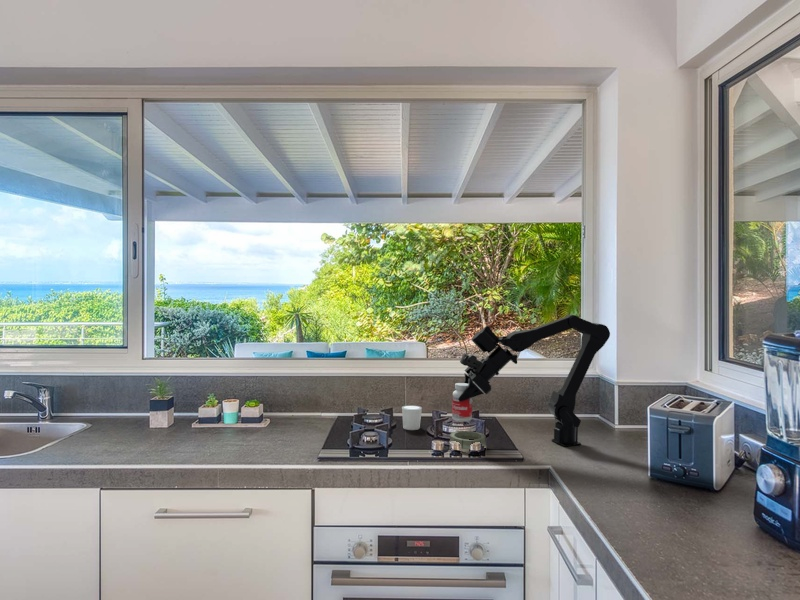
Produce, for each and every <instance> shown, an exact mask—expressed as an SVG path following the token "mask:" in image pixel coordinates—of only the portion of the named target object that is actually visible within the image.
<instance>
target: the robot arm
mask: <svg viewBox="0 0 800 600" xmlns="http://www.w3.org/2000/svg"><path fill="white" fill-rule="evenodd" d="M571 329H572V330H574V331H576V332H578V333H581V334H582V336H581V343H580V346H581V347H580V348H579V351H578V353H577V355H576V358H575V360H574V362H573V364H572V366H571V368H570V370H569V373H568V374H567V377H566V379H565V381H564V384H563V385H562V387H561V389H559V390H558V391H556V390H553V391H552V393H551V397H550V398H549V400H548V401H547V402H548V407H547V408H548V411H549V413H550V414H551V415H552V416H553V417H554V419H555V421H557V422H555V424H554V425H555V426H554V429H553V433H554V434H553V438H552V439H551V442H554V443H555V444H558V445H559V446H560V445H561V446H563V447H571V446H573V447H575V446H580V445H582V443H581V442H580V441H578V438H579V436H578V435H579V427H580V424H581V422H582V421H581V419H580V418H579V417H578V415H576V414H575V413H574V412H575V407H576V403H577V402H576V399H577V394H578V391H579V389H580V387H581V385H582V383H583V382H584V379H585V377H586V375H587V372H588V370H589V368H590V366H591V365H592V364H591V363H592V362H593V360H594V358H595V355H596V354H597V353H598V352H599V351H600V350H601V349H602V348H603V347H604V346H605V344H606V343H607V341H608V340H609V338H610V336H611V332H610V329H609V328H608V326H606V325H605V324H602V323H598V322H591V321H589V320H586V319H583V318H582V317H579V316H578V315H577V314H576V315H575V314H568V315H565V316H564V317H561V318H559V319H555V320H553V321H551V322H547V323H545V324H541V325H539V326H536V327H533V328H530V329H523V330H517V331H512V332H509V333H507V335H505V336H503V335H502V336H498V335H496V333H494V331H493V330H492V329H491V327H490V326H488V325H485V326H484V327H483V328H481V329H480V330H479V331H477V332H475V334H474V335H473V336H472V337H471V338H470V341H472V343H473V344H474V345H475V346H476V347H477V348H478V349H479V350H480V351H481V352H482V353H486V352H487V354H488V355H487V356H486V357H485V358H484V357H483V358H481V359H480V360H479V359H478V357H477V356H476V355H474V354H471V355H469V354H467V353H463V355H462V357H461V359H460V360H459V363H460V364H462V365H463V366H465V367H466V366H467V367H466V368H465V370H463V371H465V373H464V380H463V382H462V383H467V384H468V386H467V388H466V389H465V390H464V392H463V393H462V394H461V396H460V397H459V398H458V400H459V401H460V402H461V401H464V400H467V399H469V398H472V399H473V398H475V397H477V396H480V395H484V393H485V395H488V394H489V393H490V392H491V390H492V385H491V384H490V381H491V380H492V379H493V378H494V377H495V376H498V375H499V374H500V372H501V370H502V369H503V368H504V367H505V366H506V365H507V364H508V363H509V362H512V363H513V364H515V365H517V364H518V355H517V354H513V353H512V352H511V351H513V352H516V353H521V352H523V351H525V350H526V349H528V348H530V347H532V346H533V345H534V344H536V343H537V342H539V341H541V340H543V339H546V338H549V337H552V336H555V335H558V334H560V333H564V332H565V331H569V330H571ZM501 345H502V346H504V347H507V348H503V347H502V346H501ZM510 350H511V351H510Z"/></svg>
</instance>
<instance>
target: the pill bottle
mask: <svg viewBox="0 0 800 600" xmlns="http://www.w3.org/2000/svg"><path fill="white" fill-rule="evenodd" d="M467 386H468V384H467V383H463V382H457V383H455V384H454V389H455V390H454V391H453V392H452V399H451V400H452V403H451V404H452V406H451V410H452V411H451V418H452V420H454V421H457V422H470V421H472V419H473V397H472V398H469V399H467V400H464V401H461V402H460V401H459V400H458V398H459V397H460V396H461V394H462V393H463V392H464V390H465V389H466V388H467Z"/></svg>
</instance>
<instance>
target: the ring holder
mask: <svg viewBox="0 0 800 600" xmlns="http://www.w3.org/2000/svg"><path fill="white" fill-rule="evenodd" d="M486 437H487V436H486V435H485V434H483V433H481V432H476V431H473V430H458V431H457V430H455V431H453V432H450V434H449V442H450V441H456V442H459V443H460V444H461V450H462V451H465V452H468V451H469V449H470V445H471V444H473V443H475V442H480V443H481V444H482V446H484V448H486V449H487V444H486ZM469 439H474V440H469Z"/></svg>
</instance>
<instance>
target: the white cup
mask: <svg viewBox="0 0 800 600" xmlns="http://www.w3.org/2000/svg"><path fill="white" fill-rule="evenodd" d="M422 409H423V408H422V406H419V405H412V404H411V405H403V406H401V412H402V413H401V414H402V427H403V429H404V430H407V431H416V430H419V429H420V427H421V420H422V419H421V418H422Z"/></svg>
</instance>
